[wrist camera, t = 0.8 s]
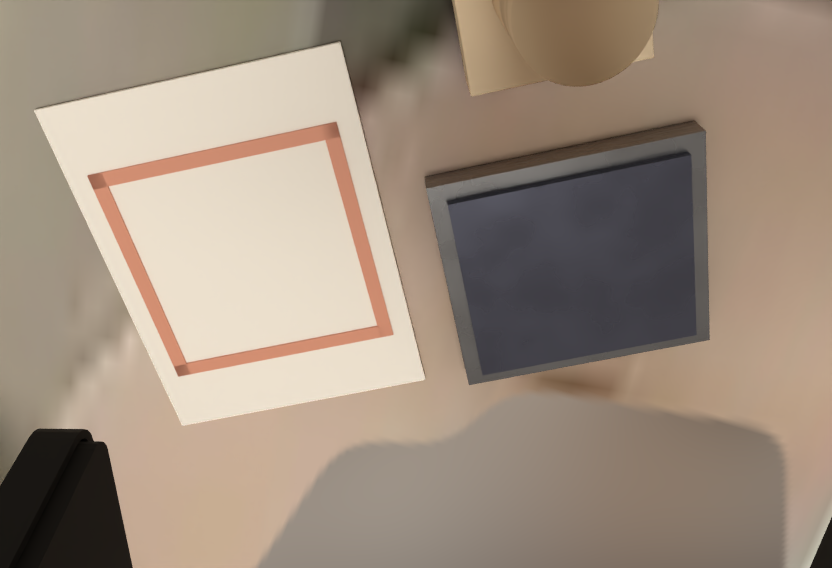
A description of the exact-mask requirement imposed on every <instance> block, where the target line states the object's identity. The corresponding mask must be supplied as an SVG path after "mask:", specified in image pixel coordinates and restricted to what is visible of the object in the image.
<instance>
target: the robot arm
mask: <svg viewBox="0 0 832 568" xmlns="http://www.w3.org/2000/svg"><path fill="white" fill-rule="evenodd" d="M0 568H133V567H132V563H131V558H130V553H129V548H128V544H127V539H126V534H125V529H124V524H123V520H122V515H121V510H120V505H119V501H118V496H117V491H116V486H115V482H114V477H113V472H112V467H111V462H110V458H109V453H108V449H107V446H106V444H105V443H104V442H94V441H93V438H92V435H91V433H90V432H89V431H88V430H85V429H37V430H36V431H34V432H33V433H32V434H31V436H30V437H29V439H28V440H27V442H26V444H25V445H24V447H23V449H22V450H21V452H20V454H19V455H18V457H17V459H16V460H15V462H14V464H13V465H12V467H11V469H10V471H9V472H8V474H7V476H6V477H5V479H4V481H3V482H2V484H1V486H0ZM810 568H832V518H831V520H830V523H829V525H828V527H827V530H826V532H825V534H824V536H823V539H822V541H821V543H820V546H819V548H818V550H817V553H816V555H815V557H814V560H813V562H812V564H811V567H810Z"/></svg>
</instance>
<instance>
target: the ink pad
mask: <svg viewBox="0 0 832 568" xmlns="http://www.w3.org/2000/svg"><path fill="white" fill-rule="evenodd" d="M425 183H426V190H427V194H428V199H429V204H430V208H431V213H432V217H433V222H434V227H435V231H436V236H437V240H438V245H439V250H440V254H441V259H442V263H443V268H444V272H445V277H446V282H447V286H448V291H449V295H450V300H451V305H452V309H453V314H454V318H455V323H456V328H457V332H458V337H459V341H460V346H461V350H462V355H463V360H464V364H465V369H466V373H467V378H468V383H469V385H472V384H477V383H482V382H488V381H493V380H498V379H504V378H509V377H514V376H520V375H525V374H530V373H536V372H541V371H546V370H552V369H557V368H562V367H568V366H573V365H578V364H584V363H589V362H594V361H599V360H605V359H610V358H615V357H621V356H626V355H631V354H637V353H642V352H647V351H653V350H658V349H663V348H669V347H674V346H679V345H685V344H690V343H695V342H700V341H706V340H710V339H709V286H708V233H707V181H706V131H705V130H704V129H703V128H702V127H701V126H700V125H699V124H698V123H697V122H696V121H691V122H687V123H682V124H677V125H672V126H667V127H663V128H658V129H653V130H648V131H643V132H639V133H634V134H629V135H624V136H619V137H615V138H610V139H605V140H600V141H595V142H590V143H586V144H581V145H576V146H571V147H566V148H562V149H557V150H552V151H547V152H542V153H538V154H533V155H528V156H523V157H518V158H514V159H509V160H504V161H499V162H494V163H490V164H485V165H480V166H475V167H470V168H466V169H461V170H456V171H451V172H446V173H442V174H437V175H432V176H427V177H425Z"/></svg>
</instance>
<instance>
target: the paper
mask: <svg viewBox="0 0 832 568" xmlns="http://www.w3.org/2000/svg"><path fill="white" fill-rule="evenodd" d="M34 111H35V113H36V116H37V118H38V120H39V122H40V124H41V126H42V128H43V131H44V133H45V135H46V137H47V139H48V141H49V143H50V145H51V148H52V150H53V152H54V154H55V156H56V158H57V160H58V162H59V165H60V167H61V169H62V171H63V173H64V175H65V177H66V179H67V182H68V184H69V186H70V188H71V190H72V192H73V194H74V196H75V199H76V201H77V203H78V205H79V207H80V209H81V211H82V213H83V216H84V218H85V220H86V222H87V224H88V226H89V228H90V231H91V233H92V235H93V237H94V239H95V241H96V243H97V245H98V248H99V250H100V252H101V254H102V256H103V258H104V260H105V262H106V265H107V267H108V269H109V271H110V273H111V275H112V277H113V279H114V282H115V284H116V286H117V288H118V290H119V292H120V294H121V296H122V299H123V301H124V303H125V305H126V307H127V309H128V311H129V313H130V316H131V318H132V320H133V322H134V324H135V326H136V328H137V331H138V333H139V335H140V337H141V339H142V341H143V343H144V345H145V348H146V350H147V352H148V354H149V356H150V358H151V360H152V362H153V365H154V367H155V369H156V371H157V373H158V375H159V377H160V379H161V382H162V384H163V386H164V388H165V390H166V392H167V394H168V396H169V399H170V401H171V403H172V405H173V407H174V409H175V411H176V414H177V416H178V418H179V420H180V422H181V424H182V426H184V425H189V424H195V423H200V422H205V421H211V420H216V419H221V418H226V417H232V416H237V415H242V414H248V413H253V412H258V411H263V410H269V409H274V408H279V407H285V406H290V405H295V404H300V403H306V402H311V401H316V400H321V399H327V398H332V397H337V396H343V395H348V394H353V393H358V392H364V391H369V390H374V389H380V388H385V387H390V386H395V385H401V384H406V383H411V382H417V381H422V380H425V375H424V371H423V367H422V363H421V359H420V355H419V351H418V347H417V343H416V339H415V335H414V331H413V327H412V323H411V319H410V315H409V311H408V307H407V303H406V299H405V295H404V291H403V287H402V283H401V279H400V276H399V272H398V268H397V264H396V260H395V256H394V252H393V248H392V244H391V240H390V236H389V232H388V228H387V224H386V220H385V216H384V212H383V208H382V204H381V200H380V196H379V192H378V188H377V184H376V180H375V176H374V173H373V169H372V165H371V161H370V157H369V153H368V149H367V145H366V141H365V137H364V133H363V129H362V125H361V121H360V117H359V113H358V109H357V105H356V101H355V97H354V93H353V89H352V85H351V81H350V77H349V73H348V69H347V66H346V62H345V58H344V54H343V50H342V46H341V42H340V41H339V42H335V43H330V44H326V45H321V46H317V47H312V48H308V49H303V50H299V51H294V52H290V53H285V54H281V55H276V56H272V57H267V58H263V59H258V60H254V61H249V62H245V63H240V64H236V65H231V66H227V67H222V68H218V69H213V70H209V71H204V72H200V73H195V74H191V75H186V76H182V77H177V78H173V79H168V80H164V81H159V82H155V83H151V84H146V85H142V86H137V87H133V88H128V89H124V90H119V91H115V92H110V93H106V94H101V95H97V96H92V97H88V98H83V99H79V100H74V101H70V102H65V103H61V104H56V105H52V106H47V107H43V108H38V109H35V110H34Z"/></svg>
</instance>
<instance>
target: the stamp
mask: <svg viewBox="0 0 832 568" xmlns="http://www.w3.org/2000/svg"><path fill="white" fill-rule="evenodd" d="M452 3H453V9H454V15H455V20H456V26H457V32H458V37H459V43H460V49H461V54H462V60H463V66H464V72H465V77H466V82H467V85H468V88H469V91H470V94H471V97H472V96H477V95H481V94H486V93H491V92H495V91H500V90H505V89H510V88H514V87H519V86H524V85H528V84H533V83H538V82H542V81H547V80H549V81H552V82H554V83H557V84H561V85H565V86H588V85H593V84H597V83H601V82H603V81H605V80H608V79H610V78H612V77H614V76H615V75H617V74H619V73H620V72H622V71H623V70H624V69H626V68H627V67H628V66H629V65H630V64H631V63H632V62H636V61H641V60H645V59H650V58H654V52H653V30H654V27H655V23H656V19H657V14H658V3H659V0H452Z"/></svg>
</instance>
